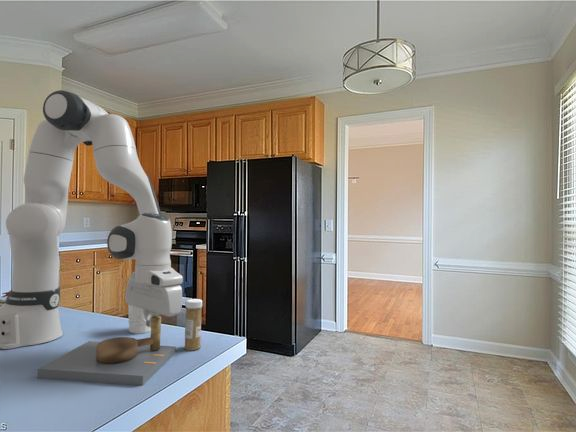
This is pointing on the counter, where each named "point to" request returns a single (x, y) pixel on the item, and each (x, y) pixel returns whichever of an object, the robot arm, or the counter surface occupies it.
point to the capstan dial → (128, 345)
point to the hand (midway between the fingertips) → (151, 326)
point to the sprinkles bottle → (193, 324)
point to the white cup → (137, 320)
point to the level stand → (106, 365)
